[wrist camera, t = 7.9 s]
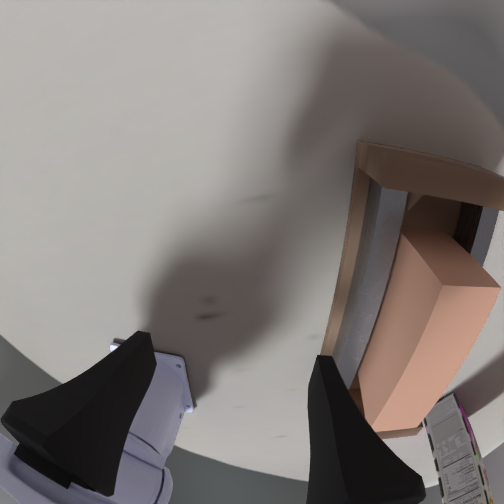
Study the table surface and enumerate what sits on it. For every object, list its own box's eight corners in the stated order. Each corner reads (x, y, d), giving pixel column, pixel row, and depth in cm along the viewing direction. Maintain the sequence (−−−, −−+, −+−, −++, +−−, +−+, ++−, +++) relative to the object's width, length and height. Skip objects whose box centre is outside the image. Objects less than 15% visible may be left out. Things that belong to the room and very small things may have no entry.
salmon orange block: (398, 361, 22) (416, 427, 15) (355, 361, 22) (367, 432, 16) (445, 232, 16) (501, 287, 10) (395, 225, 17) (442, 285, 10)
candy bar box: (469, 416, 27) (495, 508, 13) (440, 433, 29) (459, 525, 15) (455, 388, 24) (491, 507, 10) (419, 409, 26) (443, 529, 12)
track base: (403, 387, 25) (416, 434, 19) (310, 389, 26) (311, 441, 20) (483, 168, 15) (537, 193, 9) (357, 140, 16) (389, 153, 10)
